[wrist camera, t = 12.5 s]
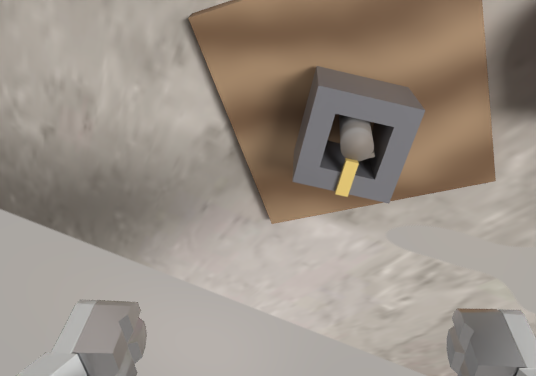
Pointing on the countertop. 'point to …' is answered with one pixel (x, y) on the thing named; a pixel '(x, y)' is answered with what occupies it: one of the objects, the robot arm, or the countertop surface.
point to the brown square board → (358, 63)
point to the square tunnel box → (365, 108)
